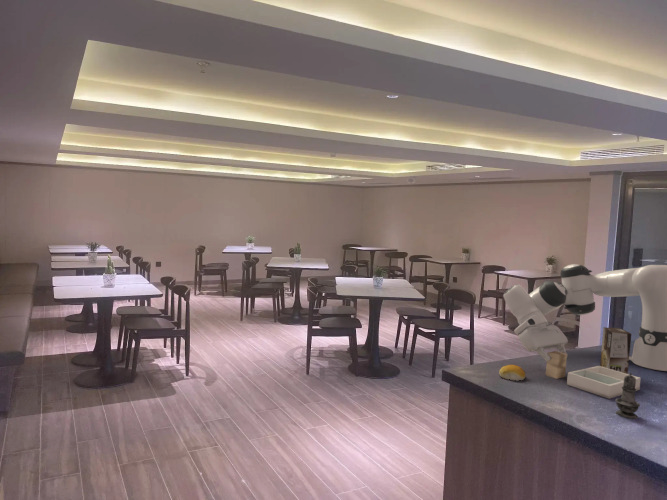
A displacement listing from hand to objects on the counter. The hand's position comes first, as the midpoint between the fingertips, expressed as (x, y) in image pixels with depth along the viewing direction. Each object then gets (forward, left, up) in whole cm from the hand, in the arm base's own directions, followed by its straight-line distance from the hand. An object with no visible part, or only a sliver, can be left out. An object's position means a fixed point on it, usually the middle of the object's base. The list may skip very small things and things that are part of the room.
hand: (557, 358), depth 167 cm
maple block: (0, 0, -6) cm, 6 cm away
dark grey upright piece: (+13, +30, -6) cm, 33 cm away
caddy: (-4, +14, -6) cm, 16 cm away
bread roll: (+15, -6, -6) cm, 18 cm away
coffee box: (-22, +8, -6) cm, 24 cm away
